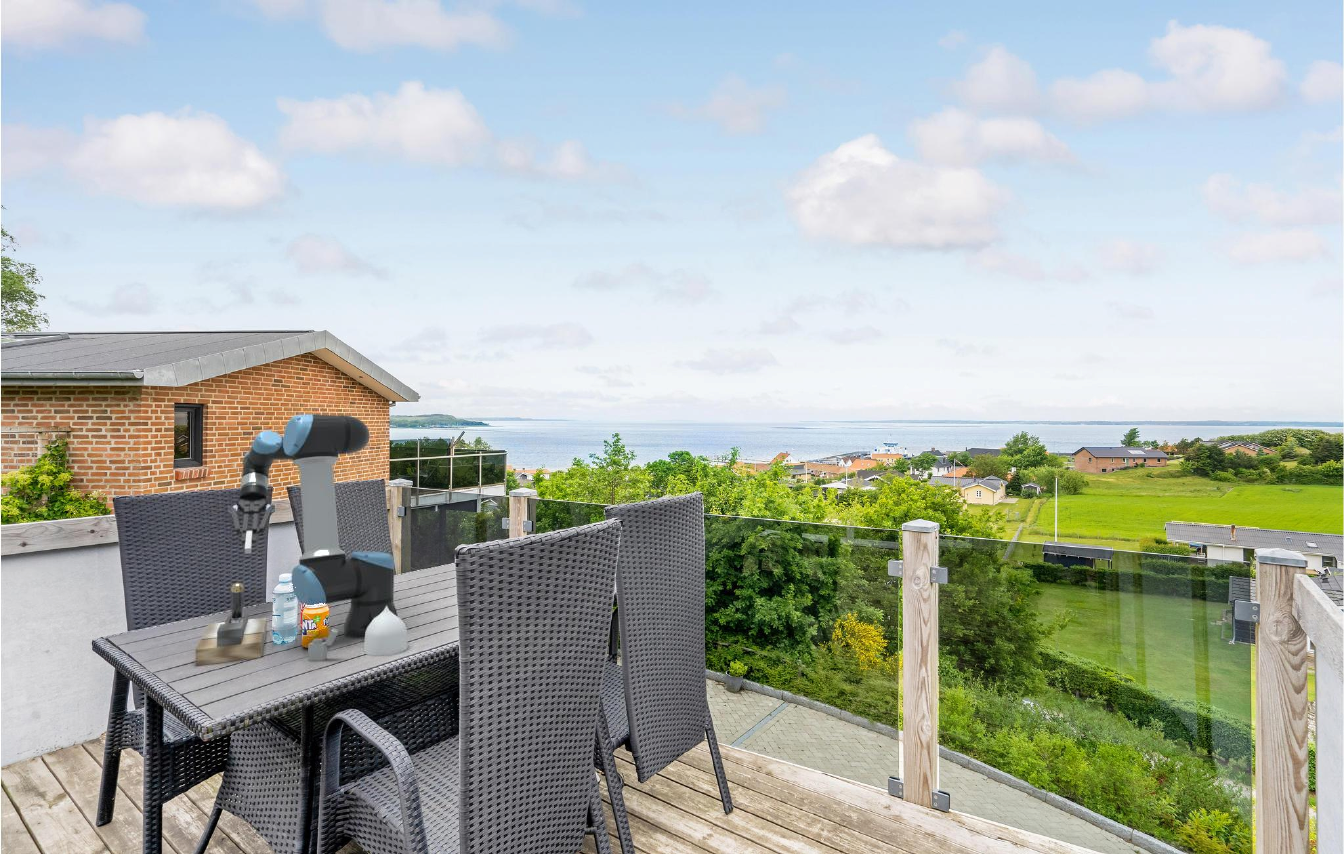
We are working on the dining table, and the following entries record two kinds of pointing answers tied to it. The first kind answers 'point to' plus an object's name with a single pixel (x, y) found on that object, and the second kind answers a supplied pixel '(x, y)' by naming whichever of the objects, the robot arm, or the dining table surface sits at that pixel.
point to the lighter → (321, 647)
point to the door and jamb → (232, 641)
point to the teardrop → (385, 635)
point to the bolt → (237, 602)
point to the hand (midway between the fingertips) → (247, 550)
